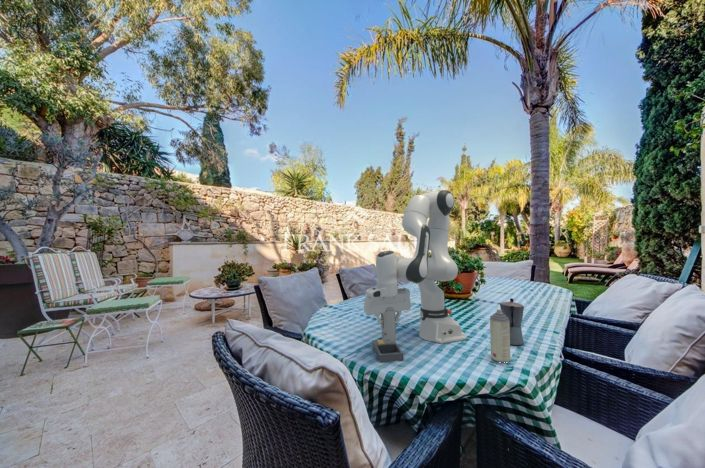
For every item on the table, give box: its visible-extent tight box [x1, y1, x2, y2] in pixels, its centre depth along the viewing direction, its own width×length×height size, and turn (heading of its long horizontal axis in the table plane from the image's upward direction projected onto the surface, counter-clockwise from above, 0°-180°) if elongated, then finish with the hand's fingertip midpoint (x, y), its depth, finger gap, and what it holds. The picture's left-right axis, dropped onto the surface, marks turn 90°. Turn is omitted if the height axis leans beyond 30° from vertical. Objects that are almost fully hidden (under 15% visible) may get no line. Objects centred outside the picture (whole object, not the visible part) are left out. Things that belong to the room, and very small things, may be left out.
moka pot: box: [499, 297, 525, 346], centre depth 125 cm, size 10×15×20 cm, turn 155°
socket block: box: [371, 339, 404, 363], centre depth 118 cm, size 10×15×3 cm, turn 7°
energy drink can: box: [380, 307, 397, 344], centre depth 115 cm, size 6×6×15 cm
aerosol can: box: [489, 308, 511, 364], centre depth 109 cm, size 7×7×20 cm
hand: (388, 322), depth 115 cm, fingers closed on energy drink can, 6 cm apart
